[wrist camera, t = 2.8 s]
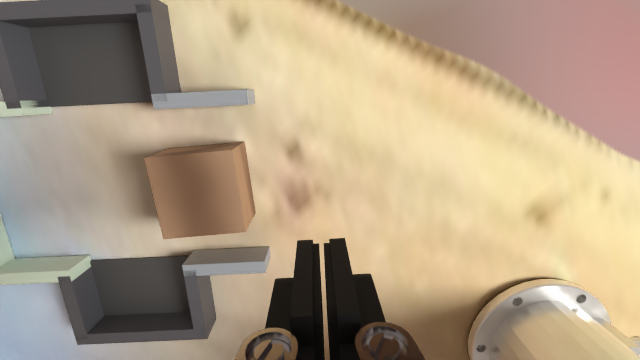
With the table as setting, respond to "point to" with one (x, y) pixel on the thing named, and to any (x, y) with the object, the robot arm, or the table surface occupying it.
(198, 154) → the walnut block
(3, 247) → the trap box
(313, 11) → the table surface
